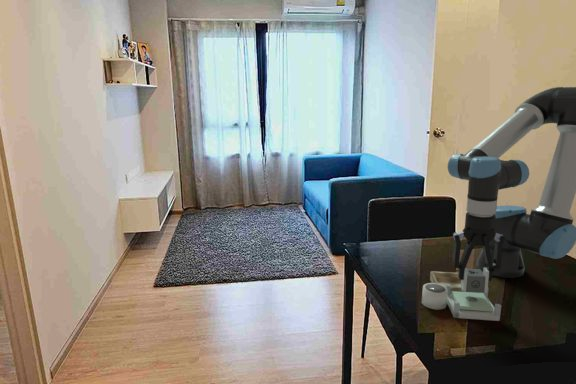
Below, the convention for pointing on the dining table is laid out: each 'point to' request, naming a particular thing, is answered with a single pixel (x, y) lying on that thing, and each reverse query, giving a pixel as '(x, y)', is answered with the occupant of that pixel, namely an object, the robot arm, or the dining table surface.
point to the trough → (447, 280)
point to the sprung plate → (472, 301)
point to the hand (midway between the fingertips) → (473, 289)
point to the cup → (434, 296)
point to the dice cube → (475, 281)
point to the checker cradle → (472, 313)
